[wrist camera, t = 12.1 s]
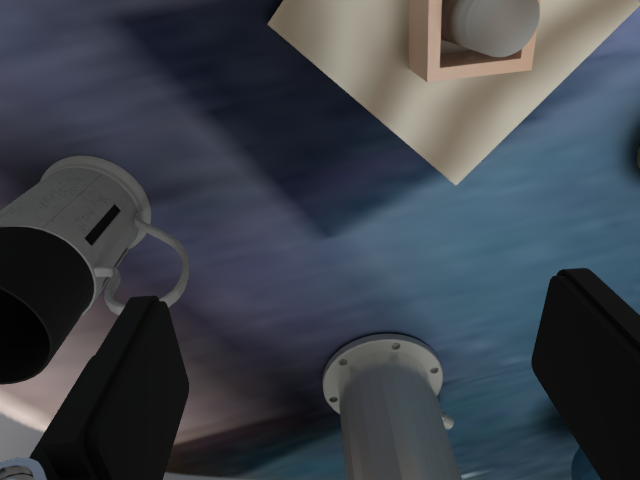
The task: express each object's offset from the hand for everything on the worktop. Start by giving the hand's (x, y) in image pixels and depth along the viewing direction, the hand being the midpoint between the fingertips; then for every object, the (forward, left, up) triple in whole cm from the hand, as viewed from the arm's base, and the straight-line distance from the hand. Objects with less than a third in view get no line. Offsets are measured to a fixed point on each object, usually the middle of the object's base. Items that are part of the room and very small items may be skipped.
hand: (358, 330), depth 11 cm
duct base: (-3, -10, -24) cm, 26 cm away
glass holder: (+7, +16, -25) cm, 30 cm away
